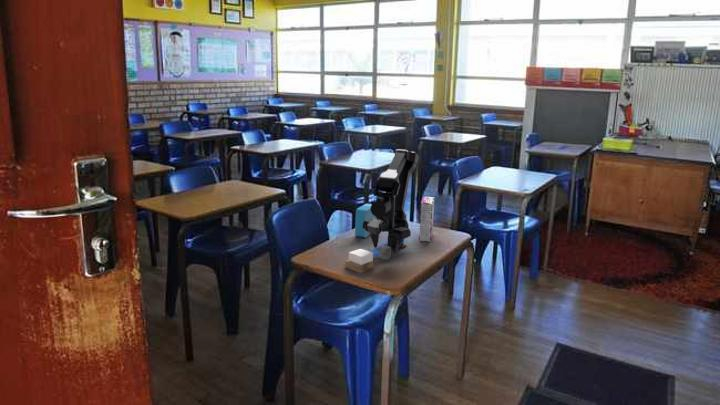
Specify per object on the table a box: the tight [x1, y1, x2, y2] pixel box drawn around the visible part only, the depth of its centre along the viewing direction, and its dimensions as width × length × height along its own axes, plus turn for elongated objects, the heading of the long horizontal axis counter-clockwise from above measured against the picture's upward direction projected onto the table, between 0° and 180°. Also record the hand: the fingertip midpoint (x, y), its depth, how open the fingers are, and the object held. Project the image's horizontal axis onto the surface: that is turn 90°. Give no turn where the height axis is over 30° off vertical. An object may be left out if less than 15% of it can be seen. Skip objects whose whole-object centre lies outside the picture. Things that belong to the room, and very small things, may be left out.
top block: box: [348, 248, 374, 265], centre depth 188 cm, size 6×6×3 cm
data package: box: [354, 203, 376, 239], centre depth 224 cm, size 12×4×12 cm, turn 156°
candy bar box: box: [418, 196, 435, 243], centre depth 221 cm, size 11×5×16 cm, turn 168°
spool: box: [378, 245, 392, 261], centre depth 198 cm, size 4×4×4 cm
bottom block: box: [344, 259, 374, 274], centre depth 188 cm, size 7×7×3 cm
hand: (385, 250), depth 198 cm, fingers open, 9 cm apart
